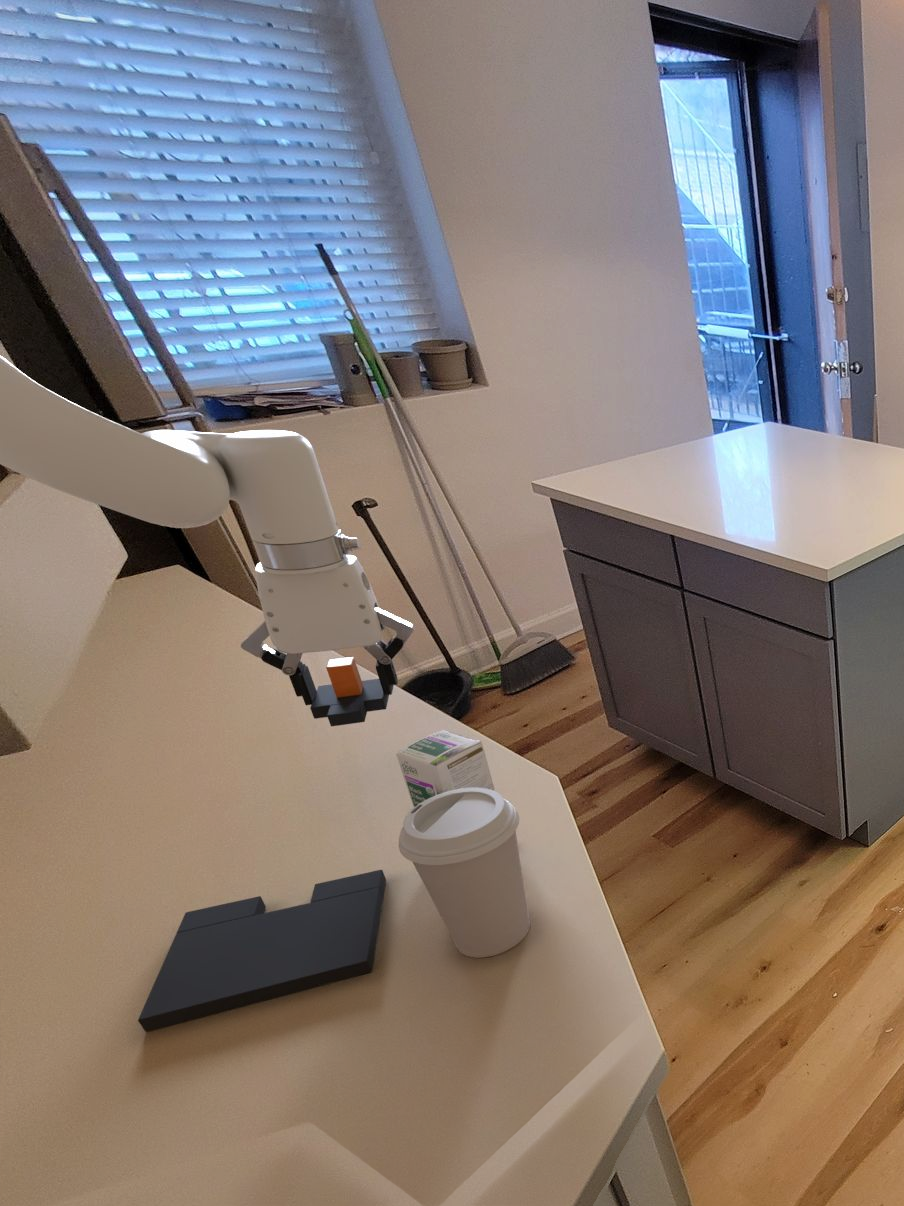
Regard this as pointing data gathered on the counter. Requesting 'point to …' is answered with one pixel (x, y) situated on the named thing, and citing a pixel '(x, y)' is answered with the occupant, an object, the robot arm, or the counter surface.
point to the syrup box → (443, 765)
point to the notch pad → (266, 950)
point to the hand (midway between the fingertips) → (350, 694)
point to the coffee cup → (470, 867)
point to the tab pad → (348, 704)
